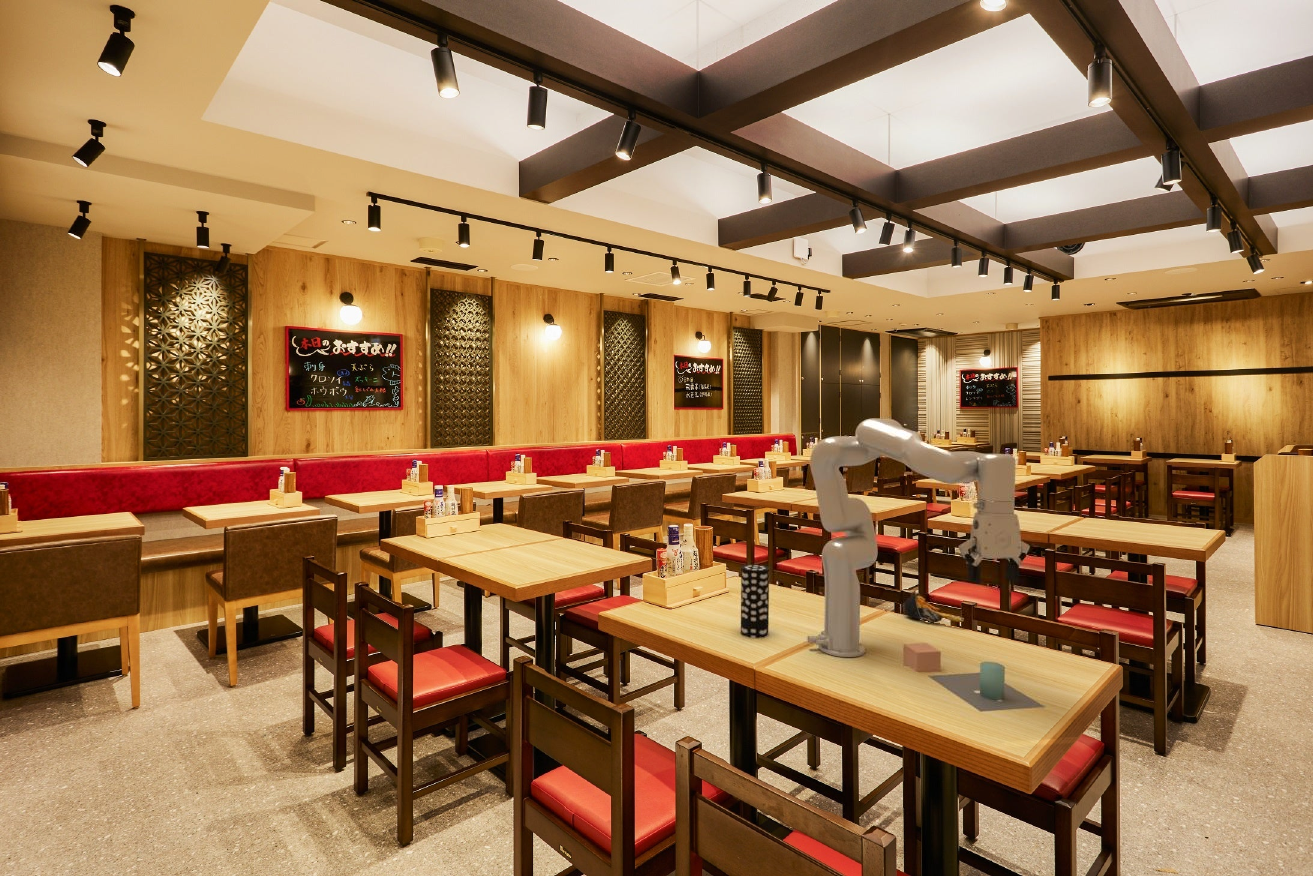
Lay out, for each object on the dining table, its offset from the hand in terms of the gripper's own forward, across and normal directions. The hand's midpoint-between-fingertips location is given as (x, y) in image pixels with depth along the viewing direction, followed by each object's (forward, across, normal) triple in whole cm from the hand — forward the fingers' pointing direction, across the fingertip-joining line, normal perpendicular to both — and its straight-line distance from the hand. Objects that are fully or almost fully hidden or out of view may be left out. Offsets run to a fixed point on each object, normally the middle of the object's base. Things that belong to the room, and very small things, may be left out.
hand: (993, 581), depth 148 cm
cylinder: (+26, 0, 0) cm, 27 cm away
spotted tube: (+28, -40, +52) cm, 72 cm away
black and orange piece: (+28, +20, +56) cm, 66 cm away
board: (+28, 0, +3) cm, 28 cm away
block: (+28, -6, +19) cm, 34 cm away
